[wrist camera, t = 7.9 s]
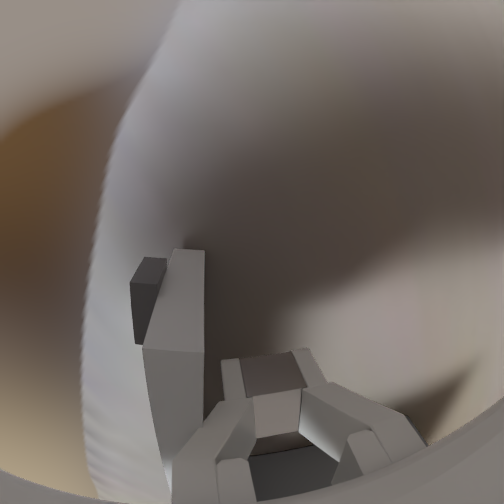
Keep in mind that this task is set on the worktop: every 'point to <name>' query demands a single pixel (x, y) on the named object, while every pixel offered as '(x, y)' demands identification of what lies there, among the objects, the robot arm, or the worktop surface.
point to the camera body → (294, 471)
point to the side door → (172, 345)
